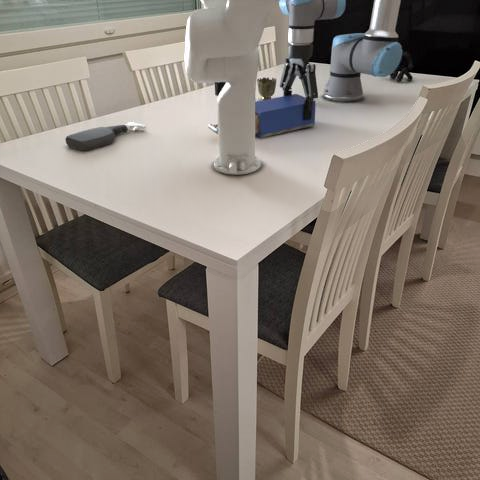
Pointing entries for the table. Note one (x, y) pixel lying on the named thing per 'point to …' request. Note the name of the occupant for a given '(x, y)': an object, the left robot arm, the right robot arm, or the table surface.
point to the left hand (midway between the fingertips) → (221, 95)
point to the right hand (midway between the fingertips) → (296, 115)
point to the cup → (266, 87)
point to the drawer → (214, 129)
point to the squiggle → (403, 68)
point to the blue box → (282, 115)
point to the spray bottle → (99, 136)
